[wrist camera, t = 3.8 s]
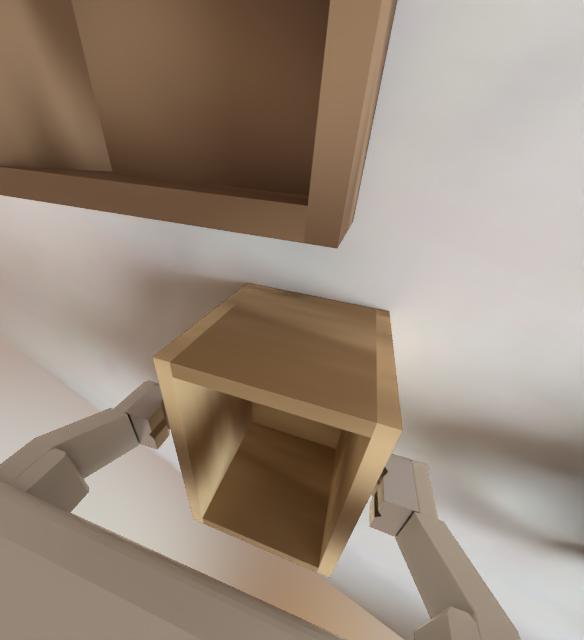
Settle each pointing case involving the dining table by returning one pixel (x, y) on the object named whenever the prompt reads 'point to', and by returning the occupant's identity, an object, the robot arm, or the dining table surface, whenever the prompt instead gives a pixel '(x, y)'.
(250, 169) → the big crate
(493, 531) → the dining table surface
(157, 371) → the small crate
